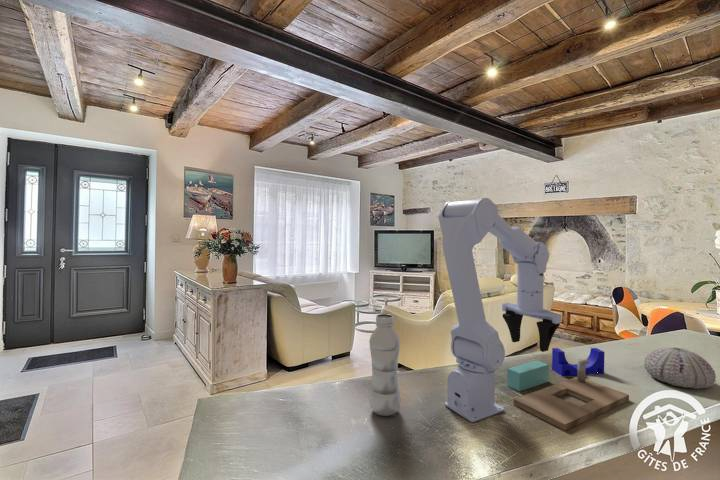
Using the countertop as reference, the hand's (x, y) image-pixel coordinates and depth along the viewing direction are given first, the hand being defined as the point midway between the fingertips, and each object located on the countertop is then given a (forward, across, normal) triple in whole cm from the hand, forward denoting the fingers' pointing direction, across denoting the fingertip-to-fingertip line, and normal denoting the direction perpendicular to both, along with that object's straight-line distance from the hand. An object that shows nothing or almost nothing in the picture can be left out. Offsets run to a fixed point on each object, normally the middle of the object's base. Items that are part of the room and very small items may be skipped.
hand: (529, 345), depth 83 cm
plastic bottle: (+10, +6, +38) cm, 40 cm away
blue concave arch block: (+10, -2, -18) cm, 20 cm away
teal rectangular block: (+10, 0, 0) cm, 10 cm away
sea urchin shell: (+9, -17, -34) cm, 39 cm away
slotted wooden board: (+9, -10, 0) cm, 14 cm away
